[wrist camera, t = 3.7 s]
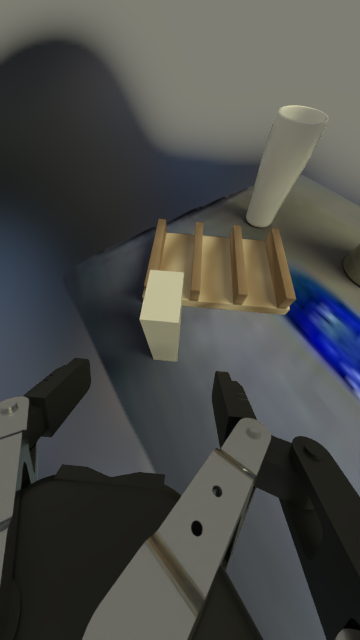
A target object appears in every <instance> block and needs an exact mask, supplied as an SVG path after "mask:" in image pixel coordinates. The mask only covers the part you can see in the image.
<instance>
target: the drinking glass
mask: <svg viewBox="0 0 360 640" xmlns="http://www.w3.org/2000/svg"><path fill="white" fill-rule="evenodd" d="M328 121H329V117H328V115H327V114H326V113H324V112H322V111H320V110H317V109H314V108H311V107H305V106H296V105H292V106H285V107H282V108H280V109H279V110H278V112H277V115H276V118H275V120H274V123H273V125H272V128H271V131H270V134H269V137H268V140H267V143H266V146H265V149H264V153H263V156H262V160H261V164H260V167H259V171H258V175H257V179H256V182H255V186H254V190H253V194H252V197H251V201H250V204H249V208H248V210H247V213H246V220H247V222H248V223H249V224H251V225H252V226H255V227H260V228H263V227H267V226H269V225H270V224H271V223H272V221H273V219H274V218H275V216H276V214H277V212H278V210H279V209H280V207H281V205H282V203H283V202H284V200H285V198H286V197H287V195H288V193H289V192H290V190H291V189H292V187H293V185H294V184H295V182H296V180H297V179H298V177H299V175H300V174H301V172H302V170H303V169H304V167H305V165H306V164H307V162H308V160H309V158H310V157H311V155H312V153H313V151H314V149H315V147H316V145H317V143H318V141H319V139H320V137H321V135H322V133H323V131H324V129H325V127H326V125H327V123H328Z"/></svg>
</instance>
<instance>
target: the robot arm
mask: <svg viewBox="0 0 360 640" xmlns="http://www.w3.org/2000/svg"><path fill="white" fill-rule="evenodd" d="M343 266H344V270H345V272H346V273H347V275H348V276H349V277H350V278H351V279H352V280H353V281H354V282H355V283H357V284H358V285H359V286H360V244H359V245H358V246H357V247H356V248H355V249H354V250H353V251H352V252H351V253H350V254H349V255H348V256H347V257H346V258H345V259H344V261H343ZM90 383H91V376H90V364H89V360H88V359H79V358H75V359H73V360H72V361H71V362H69V363H68V364H67V365H64V366H62V367H60V368H58V369H56V370H55V371H53V372H52V373H51V374H50V375H49V376H47V377H46V378H45V379H44V380H43V381H41V382H40V383H39V384H37V385H36V386H35V387H33V388H32V389H31V390H30V391H28V392H27V393H26V394H25V395H24V396H20V397H19V396H18V397H12V398H9V399H6V400H3V401H1V402H0V640H263V638H262V636H261V634H260V633H259V631H258V629H257V627H256V625H255V623H254V622H253V620H252V618H251V616H250V614H249V613H248V611H247V609H246V607H245V605H244V604H243V602H242V600H241V598H240V596H239V594H238V593H237V591H236V589H235V587H234V585H233V584H232V582H231V580H230V578H229V576H228V574H227V573H226V570H227V567H228V564H229V562H230V559H231V556H232V554H233V551H234V548H235V545H236V542H237V539H238V536H239V533H240V530H241V528H242V525H243V522H244V519H245V517H246V514H247V511H248V509H249V506H250V503H251V501H252V498H253V495H254V493H255V490H256V487H257V488H259V489H261V490H263V491H265V492H268V493H270V494H272V495H274V496H276V497H278V498H279V500H280V503H281V506H282V509H283V512H284V515H285V518H286V521H287V524H288V527H289V530H290V533H291V536H292V539H293V542H294V545H295V548H296V550H297V553H298V556H299V559H300V562H301V565H302V568H303V571H304V574H305V577H306V580H307V583H308V586H309V589H310V592H311V595H312V598H313V601H314V604H315V607H316V610H317V613H318V616H319V619H320V622H321V625H322V627H323V630H324V633H325V636H326V639H327V640H360V497H359V495H358V494H357V492H356V491H355V489H354V488H353V487H352V485H351V484H350V482H349V481H348V479H347V478H346V476H345V475H344V473H343V472H342V470H341V469H340V468H339V466H338V465H337V463H336V462H335V460H334V459H333V457H332V456H331V454H330V453H329V452H328V451H327V450H326V449H325V448H324V447H323V446H322V445H321V444H319V443H318V442H316V441H314V440H312V439H310V438H307V437H303V436H298V437H295V438H294V439H293V441H292V443H290V442H287V441H285V440H282V439H279V438H276V437H274V436H272V435H271V434H270V432H269V430H268V429H267V427H266V426H265V425H264V424H262V423H261V422H259V421H257V419H256V416H255V414H254V412H253V410H252V407H251V405H250V403H249V401H248V398H247V396H246V395H245V391H244V389H243V387H242V386H241V385H240V384H239V383H238V382H237V381H231V378H230V375H229V373H228V372H219V371H216V373H215V378H214V384H213V391H212V404H213V410H214V416H215V421H216V427H217V433H218V439H219V444H220V450H219V449H218V448H216V449H215V450H214V451H213V452H212V453H211V455H210V456H209V458H208V459H207V461H206V462H205V463H204V465H203V466H202V468H201V469H200V471H199V472H198V473H197V475H196V476H195V478H194V479H193V481H192V482H191V483H190V485H189V486H188V488H187V489H186V491H185V492H184V493H183V495H182V496H181V495H180V494H179V493H177V492H176V491H175V490H173V489H172V488H170V487H168V486H166V485H164V479H165V475H162V474H153V473H143V472H138V473H132V474H127V475H121V476H116V477H109V476H106V475H104V474H102V473H99V472H97V471H95V470H93V469H91V468H89V467H83V466H72V465H62V466H61V467H60V469H59V470H58V472H57V474H56V475H52V476H49V477H45V478H43V479H40V480H38V481H37V463H38V443H37V441H38V439H39V438H40V437H41V436H43V437H52V436H53V435H54V433H55V432H56V431H57V429H58V428H59V427H60V425H61V424H62V423H63V422H64V421H65V419H66V418H67V416H68V415H69V414H70V413H71V412H72V410H73V409H74V408H75V406H76V405H77V404H78V403H79V401H80V400H81V399H82V397H83V396H84V395H85V394H86V392H87V391H88V389H89V387H90Z"/></svg>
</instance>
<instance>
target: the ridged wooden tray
mask: <svg viewBox="0 0 360 640" xmlns="http://www.w3.org/2000/svg"><path fill="white" fill-rule="evenodd" d="M150 270H160V271H171V272H183V273H184V280H183V294H182V306H192V307H203V308H214V309H226V310H237V311H248V312H259V313H271V314H282V315H285V314H286V313H287V312H288V311H289V310H290V307H289V306H290V305H291V304H292V303H293V302H294V301H295V300H296V297H295V293H294V289H293V285H292V281H291V277H290V272H289V268H288V264H287V260H286V256H285V252H284V248H283V244H282V240H281V236H280V232H279V229H276V228H271V230H270V232H269V233H268V235H267V237H266V239H265V241H260V240H248V239H242V232H241V226H240V225H233V228H232V232H231V235H230V238H223V237H211V236H203V222H196V228H195V235H187V234H175V233H167V229H166V220H165V219H159V221H158V225H157V230H156V234H155V239H154V243H153V248H152V252H151V256H150V261H149V265H148V270H147V274H146V279H145V283H144V291H143V296H142V297H143V301H144V296H145V291H146V287H147V282H148V278H149V273H150Z"/></svg>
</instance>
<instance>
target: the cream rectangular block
mask: <svg viewBox="0 0 360 640" xmlns="http://www.w3.org/2000/svg"><path fill="white" fill-rule="evenodd" d="M183 280H184V273H183V272H171V271H160V270H150V273H149V278H148V282H147V287H146V291H145V296H144V301H143V305H142V310H141V315H140V322H141V325H142V328H143V331H144V334H145V336H146V339H147V342H148V345H149V348H150V351H151V353H152V356H153V359H154V360H164V361H175V362H177V356H178V345H179V335H180V324H181V309H182V294H183Z"/></svg>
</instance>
